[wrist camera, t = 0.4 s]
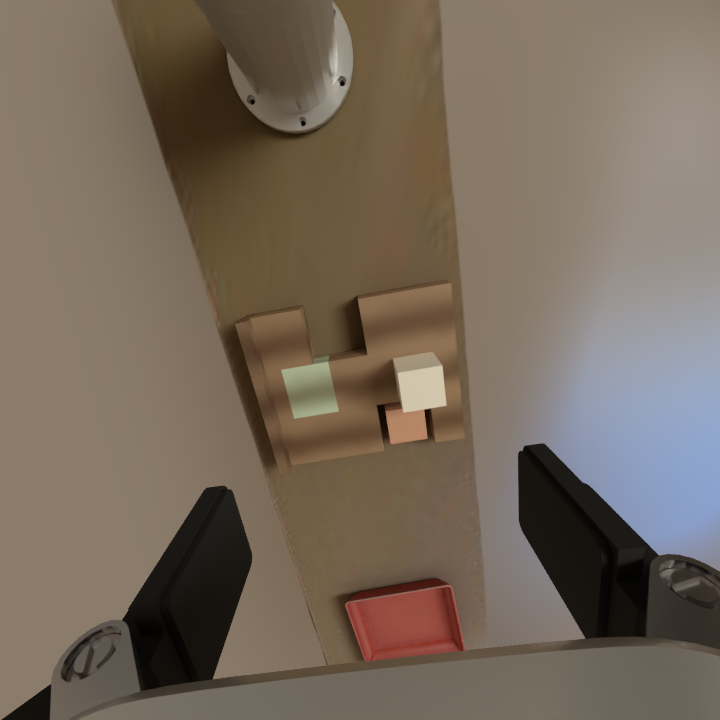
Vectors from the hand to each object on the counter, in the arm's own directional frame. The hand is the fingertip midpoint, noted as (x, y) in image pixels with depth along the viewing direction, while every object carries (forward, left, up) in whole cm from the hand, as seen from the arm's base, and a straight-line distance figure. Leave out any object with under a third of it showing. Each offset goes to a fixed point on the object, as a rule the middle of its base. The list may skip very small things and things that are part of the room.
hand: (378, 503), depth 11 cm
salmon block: (+16, +3, -35) cm, 38 cm away
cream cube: (+9, +5, -31) cm, 33 cm away
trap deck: (+9, -1, -34) cm, 36 cm away
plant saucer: (+56, -2, -35) cm, 66 cm away
